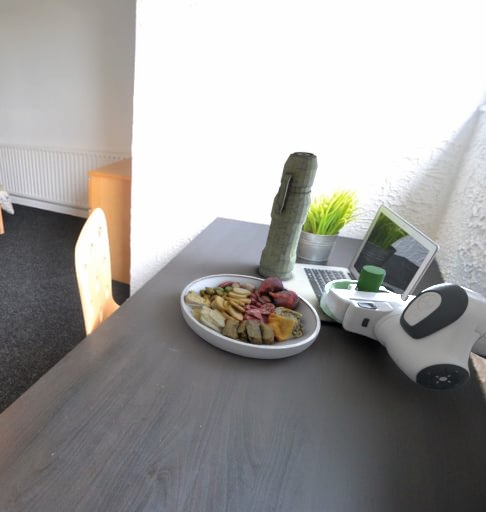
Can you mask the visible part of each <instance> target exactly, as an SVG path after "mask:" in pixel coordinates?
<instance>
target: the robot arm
mask: <svg viewBox="0 0 486 512" xmlns="http://www.w3.org/2000/svg"><path fill="white" fill-rule="evenodd" d="M358 289H359V287H358V286H357V285H354V284H349V285H348V288H347V290H341V289H330V290H329V291H328V293H327V296H326V300H325V302H326V305H327V306H328V308H329V309H330V311H331V312H332V313H333V315H334V316H335V317H336V318H338V319H339V320H341V321H343V324H342V328H343V329H344V330H345V331H348V332H350V333H351V332H352V333H355V334H358V335H361V336H365V337H367V338H370V339H372V340H374V341H377V342H379V343H380V344H381V345H382V346H383V347H385V348H386V351H387V353H388V355H389V356H390V358H391V359H392V361H393V362H394V363H395V365H396V366H397V367H398V368H399V369H400V370H401V372H402V373H404V374H405V375H406V377H408V378H409V379H410V380H411V381H412V382H413V383H415V384H417V385H419V386H422V387H424V388H428V389H434V390H449V389H450V390H451V389H454V388H458V387H460V386H462V385H464V384H465V383H467V382H468V381H469V379H470V376H471V372H470V369H469V359H470V355H471V353H472V354H474V355H476V356H478V357H480V358H482V359H484V360H486V296H485V295H483V294H482V293H479V292H476V291H474V290H471V289H468V288H466V287H463V286H462V285H461V286H460V285H458V284H456V283H447V282H446V283H439V284H435V285H432V286H430V287H427V288H426V289H424V290H422V291H421V292H419V293H418V294H417V295H408V296H409V297H408V299H407V300H406V301H403V300H402V299H401V295H402V294H397V293H395V292H393V291H390V290H388V289H386V288H385V286H381V287H380V289H379V292H378V293H374V292H363V291H358Z"/></svg>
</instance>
